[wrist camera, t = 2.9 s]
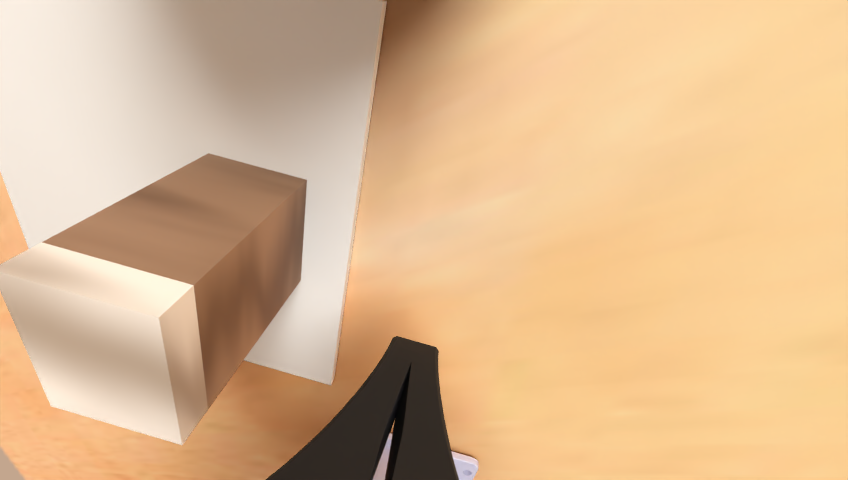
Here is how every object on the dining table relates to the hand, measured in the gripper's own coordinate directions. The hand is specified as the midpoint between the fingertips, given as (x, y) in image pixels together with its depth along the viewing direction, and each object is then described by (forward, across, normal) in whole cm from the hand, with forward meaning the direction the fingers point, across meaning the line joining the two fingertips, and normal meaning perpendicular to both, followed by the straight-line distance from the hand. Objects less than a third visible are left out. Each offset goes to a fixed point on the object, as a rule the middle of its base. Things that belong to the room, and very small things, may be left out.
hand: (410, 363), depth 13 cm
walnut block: (+5, +8, 0) cm, 9 cm away
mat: (+6, +12, 0) cm, 13 cm away
